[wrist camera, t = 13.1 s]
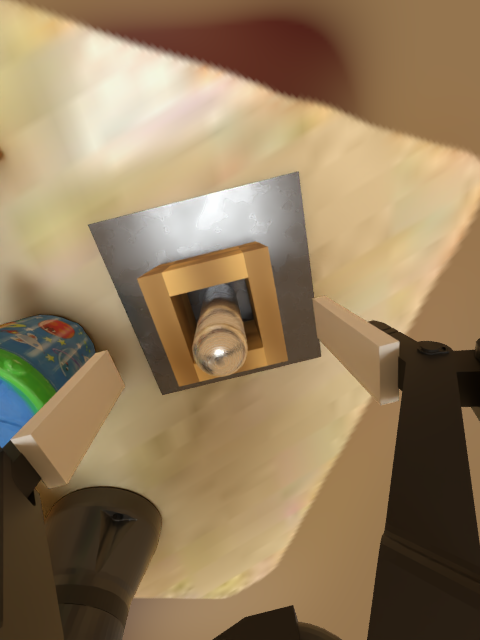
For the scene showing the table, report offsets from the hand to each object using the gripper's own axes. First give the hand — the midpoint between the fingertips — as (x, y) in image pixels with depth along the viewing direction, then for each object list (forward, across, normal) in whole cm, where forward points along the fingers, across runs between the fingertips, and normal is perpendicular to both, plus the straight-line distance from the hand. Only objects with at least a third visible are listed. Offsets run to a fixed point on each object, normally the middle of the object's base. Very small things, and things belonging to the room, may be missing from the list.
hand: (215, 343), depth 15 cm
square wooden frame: (+9, 0, 0) cm, 9 cm away
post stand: (+9, 0, 0) cm, 9 cm away
